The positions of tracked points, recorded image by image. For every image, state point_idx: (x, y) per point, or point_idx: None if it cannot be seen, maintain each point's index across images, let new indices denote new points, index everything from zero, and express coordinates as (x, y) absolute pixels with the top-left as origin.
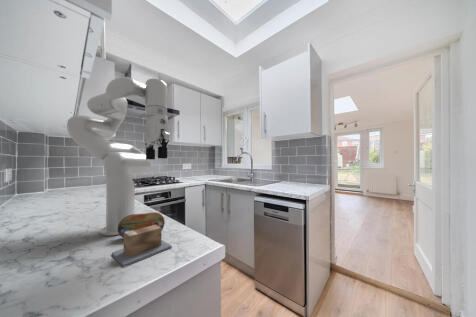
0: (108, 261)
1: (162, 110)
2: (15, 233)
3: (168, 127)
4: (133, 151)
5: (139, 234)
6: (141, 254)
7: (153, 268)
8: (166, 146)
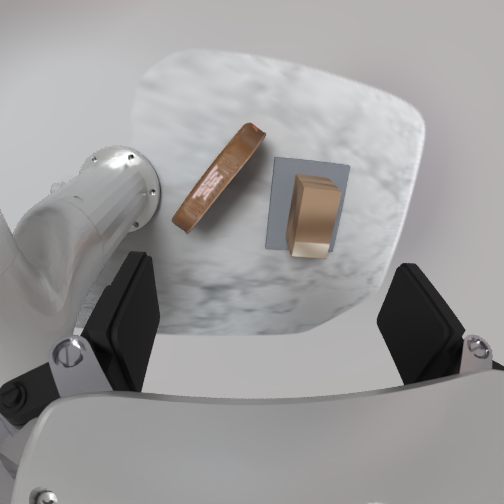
0: (288, 257)
1: None
2: None
3: None
4: None
5: (330, 239)
6: None
7: (376, 225)
8: (473, 348)
